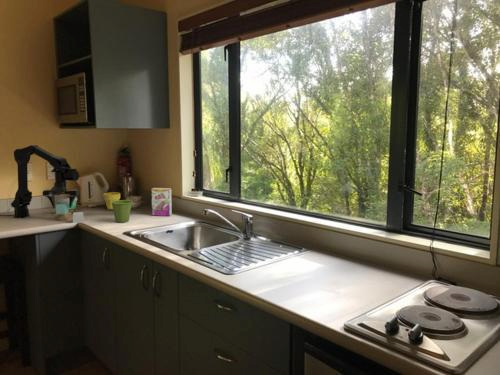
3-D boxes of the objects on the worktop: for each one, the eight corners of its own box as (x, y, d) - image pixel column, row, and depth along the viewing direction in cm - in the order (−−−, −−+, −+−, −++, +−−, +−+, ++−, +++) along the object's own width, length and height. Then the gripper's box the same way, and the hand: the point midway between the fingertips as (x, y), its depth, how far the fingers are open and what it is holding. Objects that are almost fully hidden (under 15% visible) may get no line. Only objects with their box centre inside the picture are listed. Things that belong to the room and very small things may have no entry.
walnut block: (53, 221, 238) (52, 214, 238) (60, 218, 245) (59, 211, 245) (65, 221, 237) (64, 214, 237) (71, 219, 244) (71, 212, 244)
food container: (63, 216, 250) (62, 199, 249) (57, 215, 254) (56, 198, 253) (82, 213, 260) (81, 197, 259) (76, 212, 264) (75, 196, 262)
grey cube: (73, 223, 233) (72, 214, 232) (74, 221, 237) (73, 212, 237) (82, 222, 234) (82, 213, 233) (83, 220, 239) (83, 212, 238)
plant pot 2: (125, 224, 230) (124, 203, 228) (106, 222, 234) (106, 202, 232) (137, 220, 241) (137, 200, 240) (119, 218, 245) (119, 199, 243)
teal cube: (56, 214, 238) (55, 205, 237) (59, 212, 243) (58, 203, 242) (65, 214, 238) (64, 205, 238) (68, 212, 243) (67, 203, 243)
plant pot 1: (104, 210, 270) (103, 195, 269) (104, 207, 280) (103, 192, 278) (121, 209, 273) (120, 194, 272) (120, 206, 283) (119, 192, 282)
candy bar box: (151, 216, 253) (150, 188, 251) (154, 214, 258) (153, 187, 256) (169, 216, 252) (169, 189, 250) (172, 214, 257) (171, 188, 255)
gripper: (37, 181, 230) (38, 210, 232) (71, 182, 231) (73, 210, 233) (46, 179, 241) (47, 206, 243) (79, 179, 242) (80, 206, 244)
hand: (62, 207), depth 240 cm, fingers open, 9 cm apart
